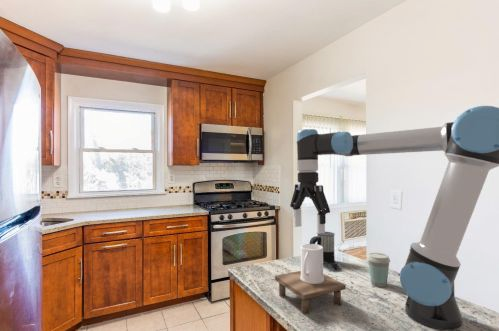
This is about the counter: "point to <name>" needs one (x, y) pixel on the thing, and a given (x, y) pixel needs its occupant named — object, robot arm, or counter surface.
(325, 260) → the milk frother
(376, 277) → the coffee cup
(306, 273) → the mug
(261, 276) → the counter surface
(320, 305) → the counter surface
